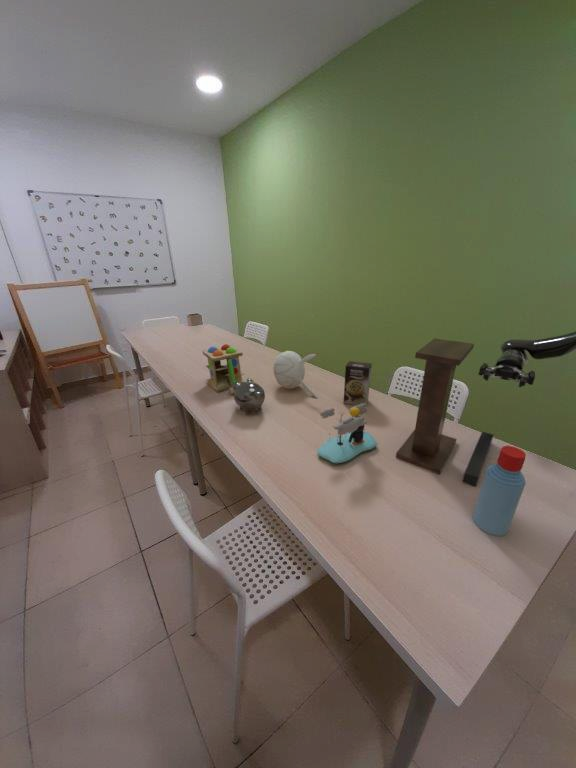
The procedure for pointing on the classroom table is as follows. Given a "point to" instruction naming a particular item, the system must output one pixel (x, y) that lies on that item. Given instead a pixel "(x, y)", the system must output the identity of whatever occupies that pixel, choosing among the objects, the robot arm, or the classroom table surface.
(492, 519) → the bottle
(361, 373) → the coffee box
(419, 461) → the stand
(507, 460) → the cap
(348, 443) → the penguin figurine
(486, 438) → the dark grey bar
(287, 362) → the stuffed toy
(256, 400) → the piggy bank
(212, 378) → the pounding bench toy
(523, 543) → the classroom table surface
